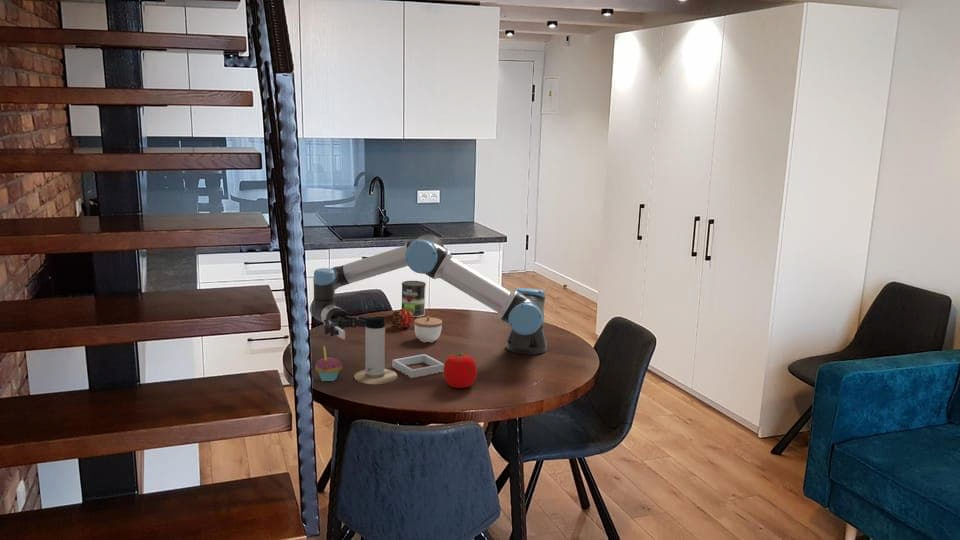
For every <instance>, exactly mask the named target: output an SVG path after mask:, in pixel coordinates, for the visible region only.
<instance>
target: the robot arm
mask: <svg viewBox="0 0 960 540" xmlns="http://www.w3.org/2000/svg"><path fill="white" fill-rule="evenodd" d="M406 267H409V270H411V271H413V272H414V273H417V274H422V275H423V274H425V275H426V276H428V277H429V278H431V279H433V280H436V279H441V280H442V281H444V282H446V283H447V284H450V285H451V286H452V287H454V288H456V289H458V290H459V291H461V292H463V293H465V294H466V295H467V296H469V297H471V298H472V299H474V300H476V301H478V302H479V303H481V304H482V305H484V306H486V307H488V308H489V309H491V310H493V311H494V312H497V314H498V318H499V319H500V320H501V321H503V322H505V323H506V324H507V325H509V327H510V328H511V330H510V333H509V335H508V337H507V340H506V349H507V350H508V351H509V352H512V353H515V354H521V355H539V354H543V353H546V351H547V349H548V348H547V347H548V343H547V338H546V335H545V331H544V321H545V320H544V319H545V301H546V292H545V290H543V289H540V288H528V287H526V288H523V287H520V288H515V289H514V290H513V291H509V290H508V289H506V288H505V287H503V286H501V285H500V284H498V283H496V282H495V281H493V280H491V279H489V278H488V277H486V276H484V275H483V274H482V273H480V272H478V271H476V270H475V269H473V268H471V267H469V266H467V265H466V264H464V263H463V262H461V261H459V260H457V259H456V258H454V257H453V255H452V252H451V250H449V249H448V248H446V247H445V246H444V244H443V241H442V240H441V239H440V238H439V237H438V236H436V235H434V234H429V233H427V234H422V235H420V236H419V237H418V238H415V239H412V240H410V241H406V243H405V244H404V245H403V246H400V247H396V248H393V249H389V250H387V251H384V252H380V253H378V254H373V255H371V256H368V257H365V258H362V259H358V260H355V261H352V262H348V263H345V264H344V265H337V266H334V267H331V268H317V269H315V270H314V271H313V279H312V281H313V301H312V302H311V304H310V305H309V313H310V315H311V316H312V317H313V318H314V319H315V320H317V321H319V322H321V323H323V327H324V335H329V334H330V337H334V336H337V337H338V338H339V339H341V340H346V330H344V329H346V328H356V327H360V328H366V318H368V317H366V316H362V315H360V314H359V315H357V314H356V316H350V315H349V313H348V312H347V310H344V309H342V308H341V307H339V306H337V305H335V300H336V299H335V298H336V296H335V291H336V290H337V289H339V288H340V287H343V286H344V287H345V286H347V285H350V284H352V283H357V282H359V281H363V280H366V279H369V278H372V277H377V276H380V275H382V274H387V273H389V272H393V271H396V270H399V269H401V268H406Z"/></svg>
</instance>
